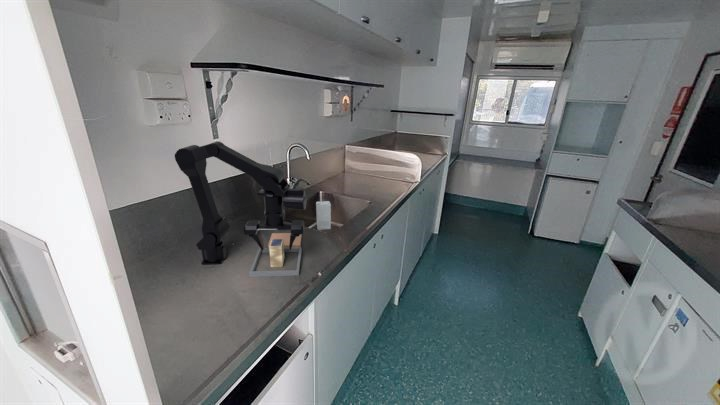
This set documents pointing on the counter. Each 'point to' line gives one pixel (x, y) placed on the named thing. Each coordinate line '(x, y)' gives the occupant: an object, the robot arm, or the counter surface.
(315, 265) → the counter surface
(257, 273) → the grey picture frame
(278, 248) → the birch label block
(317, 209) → the skincare box
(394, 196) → the counter surface
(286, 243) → the terracotta tile
